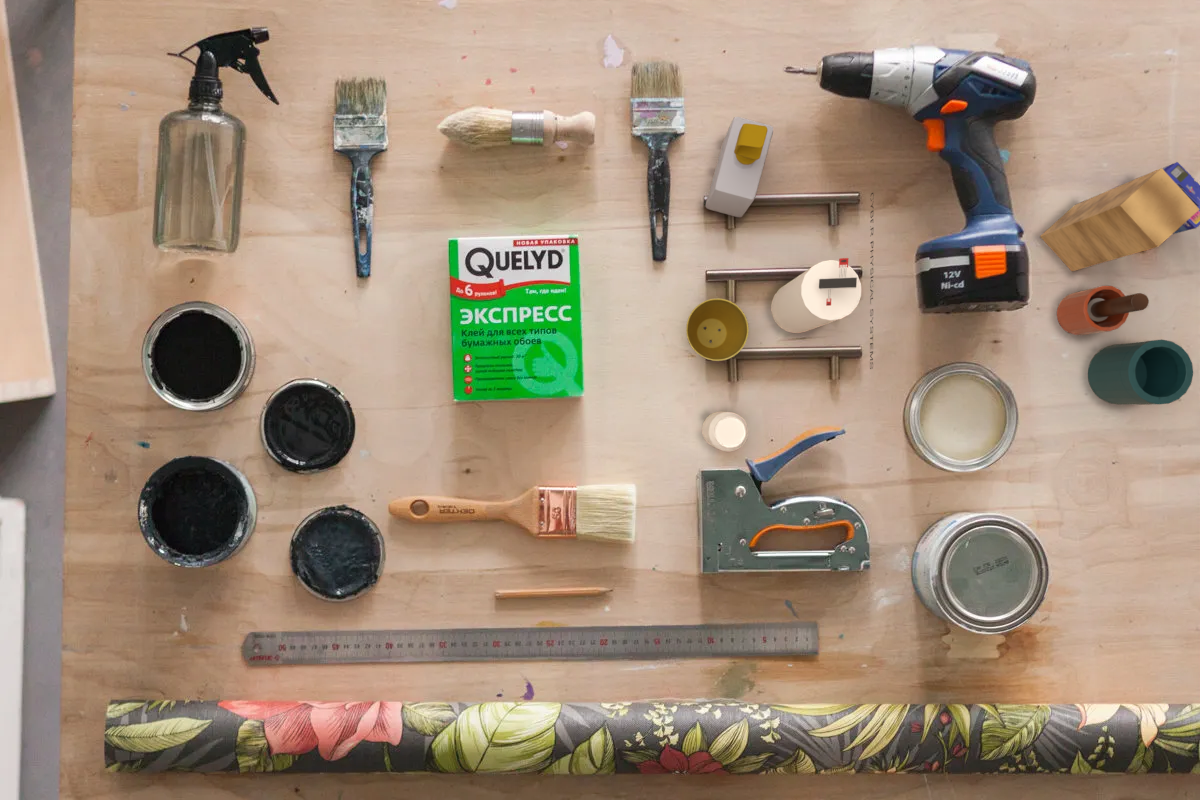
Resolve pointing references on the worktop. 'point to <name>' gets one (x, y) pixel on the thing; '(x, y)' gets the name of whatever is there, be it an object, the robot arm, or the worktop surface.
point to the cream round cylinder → (725, 431)
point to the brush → (1116, 306)
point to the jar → (1141, 373)
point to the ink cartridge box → (1186, 192)
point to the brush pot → (1077, 317)
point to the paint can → (818, 296)
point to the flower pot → (714, 318)
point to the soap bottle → (739, 167)
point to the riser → (1120, 221)
